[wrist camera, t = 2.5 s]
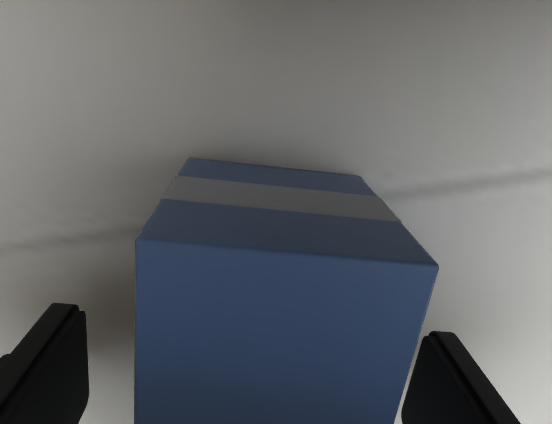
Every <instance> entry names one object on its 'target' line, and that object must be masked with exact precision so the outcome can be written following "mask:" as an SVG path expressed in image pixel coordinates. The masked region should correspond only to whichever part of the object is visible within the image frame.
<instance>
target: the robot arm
mask: <svg viewBox="0 0 552 424" xmlns="http://www.w3.org/2000/svg"><path fill="white" fill-rule="evenodd" d="M88 398H89V377H88V353H87V330H86V313H85V311H80V310H79V307H78V305H76V304H64V303H52V304H51V305H50V306H49V308H48V309H47V310H46V311H45V312H44V314H43V315H42V316H41V317H40V318H39V320H38V321H37V322H36V323H35V325H34V326H33V327H32V328H31V329H30V331H29V332H28V333H27V334H26V335H25V337H24V338H23V339H22V340H21V341H20V343H19V344H18V345H17V346H16V348H15V349H14V350H13V351H12V352H11V354H6V355H3V356H2V357H1V358H0V424H78V422H79V420H80V418H81V416H82V414H83V412H84V410H85V408H86V405H87V402H88ZM401 418H402V423H403V424H521V423H520V422H519V421H518V419H517V418H516V417H515V415H514V414H513V413H512V411H511V410H510V408H509V407H508V406H507V404H506V403H505V402H504V400H503V399H502V397H501V396H500V395H499V393H498V392H497V391H496V389H495V388H494V386H493V385H492V384H491V382H490V381H489V380H488V378H487V377H486V376H485V374H484V373H483V371H482V370H481V369H480V367H479V366H478V365H477V363H476V362H475V360H474V359H473V358H472V356H471V355H470V354H469V352H468V351H467V350H466V348H465V347H464V345H463V344H462V343H461V341H460V340H459V339H458V337H457V336H456V335H455V334H454V333H452V332H441V331H431V332H430V333H429V335H428V336H424V337H423V339H422V342H421V346H420V349H419V352H418V356H417V359H416V363H415V366H414V369H413V373H412V376H411V380H410V383H409V387H408V390H407V393H406V397H405V400H404V404H403V407H402V411H401Z"/></svg>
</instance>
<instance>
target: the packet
mask: <svg viewBox="0 0 552 424" xmlns="http://www.w3.org/2000/svg"><path fill="white" fill-rule="evenodd" d="M438 270H439V266H438V264H437V263H436V262H435V261H434V260H433V258H432V257H431V256H430V255H429V254H428V253H427V252H426V251H425V249H424V248H423V247H422V246H421V245H420V244H419V243H418V242H417V240H416V239H415V238H414V237H413V236H412V235H411V234H410V232H409V231H408V230H407V229H406V228H405V227H404V226H403V225H402V223H401V221H400V220H399V219H398V218H397V216H396V215H395V214H394V213H393V212H392V211H391V210H390V209H389V208H388V206H387V205H386V204H385V203H384V202H383V201H382V200H381V199H380V198H379V197H378V196H377V195H376V194H375V193H374V192H373V191H372V190H371V188H370V187H369V186H368V185H367V184H366V183H365V182H364V180H363V179H362V178H361V177H359V176H352V175H343V174H334V173H324V172H315V171H306V170H296V169H287V168H278V167H268V166H259V165H250V164H241V163H231V162H222V161H213V160H203V159H194V158H189V159H188V160H187V161H186V163H185V164H184V166H183V167H182V169H181V170H180V172H179V174H178V175H177V176H176V177H175V178H174V180H173V181H172V183H171V184H170V186H169V187H168V189H167V190H166V192H165V193H164V195H163V196H162V198H161V200H160V203H159V204H158V206H157V207H156V209H155V210H154V212H153V213H152V215H151V216H150V218H149V219H148V221H147V223H146V224H145V226H144V227H143V229H142V230H141V232H140V233H139V235H138V236H137V238H136V240H135V375H134V424H394V421H395V417H396V414H397V410H398V407H399V403H400V400H401V397H402V393H403V390H404V386H405V383H406V379H407V376H408V373H409V369H410V366H411V362H412V359H413V355H414V352H415V349H416V345H417V342H418V338H419V335H420V331H421V328H422V324H423V321H424V318H425V314H426V311H427V307H428V304H429V300H430V297H431V294H432V290H433V287H434V283H435V280H436V276H437V273H438Z"/></svg>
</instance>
